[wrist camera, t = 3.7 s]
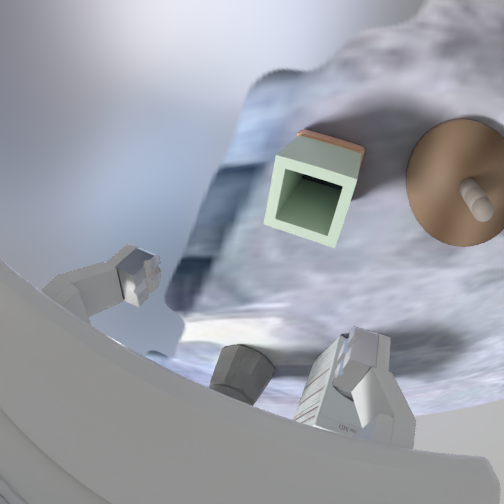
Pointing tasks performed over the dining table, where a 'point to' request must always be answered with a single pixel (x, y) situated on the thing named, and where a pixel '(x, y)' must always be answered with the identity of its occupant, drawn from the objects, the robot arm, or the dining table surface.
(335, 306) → the dining table surface
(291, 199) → the sleeve
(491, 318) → the dining table surface
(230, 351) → the coffeepot
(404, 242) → the dining table surface
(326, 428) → the supplement box
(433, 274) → the dining table surface
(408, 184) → the pin base
